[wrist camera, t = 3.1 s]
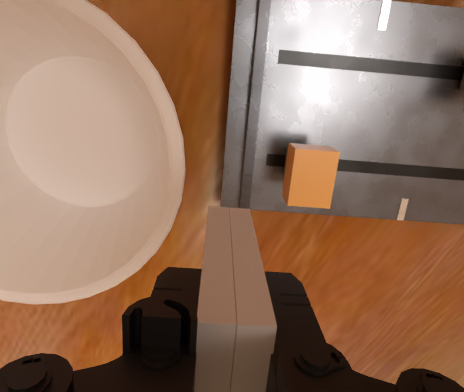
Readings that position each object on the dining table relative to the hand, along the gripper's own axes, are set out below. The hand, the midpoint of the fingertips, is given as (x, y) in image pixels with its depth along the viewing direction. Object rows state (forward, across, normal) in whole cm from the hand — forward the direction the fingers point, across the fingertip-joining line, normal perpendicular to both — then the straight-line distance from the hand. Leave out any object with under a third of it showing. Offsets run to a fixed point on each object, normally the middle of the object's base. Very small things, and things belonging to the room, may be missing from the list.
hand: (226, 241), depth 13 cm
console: (+18, +13, +4) cm, 23 cm away
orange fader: (+16, +6, 0) cm, 17 cm away
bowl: (+19, -12, +1) cm, 22 cm away
